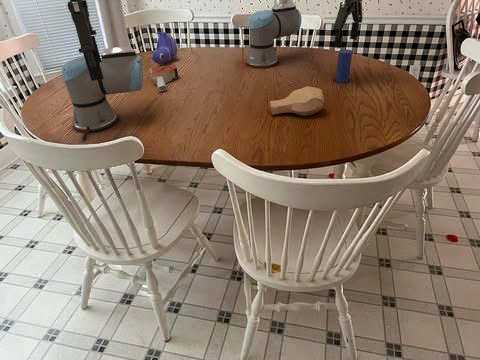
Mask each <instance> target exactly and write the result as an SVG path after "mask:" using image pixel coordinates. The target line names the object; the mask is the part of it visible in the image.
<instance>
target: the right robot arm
mask: <svg viewBox="0 0 480 360" xmlns="http://www.w3.org/2000/svg"><path fill="white" fill-rule="evenodd" d="M273 1H274V4H273V5H272V7H271V10H270V9H263V10H259V11H255V12H253V13H252V14H251V15H250V16H249V17H248V31H249V32H248V33H249V49H248V54H247V57H246V65H247V66H248V67H250V68H255V69H263V68H270V67H274V66H276V65H277V64H278V56H277V52H276V47H275V45H274V44H275V41H274V40H276V39H280V38H285V37H290V36H292V35H295V34H297V33H298V32H299V30H300V29H301V25H302V13H301V12H300V10H299V9H297V4H295V2H293V0H273ZM338 8H339V9H338V11H337V14H336V17H335V21H334V25H333V28H332V30H333V31H335V35H334V36H335V37H334V45H333V48H336V49H342V46H343V45H342V44H343V37H344V30H343V29H344V27H345V25H346V22H347V20H348V18H349V16H351V17H352V20H353V21H352V22H351V28H350V34H349V35H350V36H349V40H353V41H357V40H358V34H359V27H360V24H361V23H362V22H363V16H364V15H363V0H344V1H340V3H339V7H338Z"/></svg>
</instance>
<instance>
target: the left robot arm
mask: <svg viewBox="0 0 480 360" xmlns="http://www.w3.org/2000/svg"><path fill="white" fill-rule="evenodd" d="M122 3H123V2H122V0H93V4H94V7H95V12H96V17H97V20H98V26H99V30H100V35H101V41H102V44H103V50H102V52H101V54H100V51H99V48H98V44H97V40H96V37H95V36H96V35H97V34H98V33H97V31H96V29H94V28H93V26H92V24H91V19H90V12H89V5H88V2H87V0H69V1H67V4H66V5H67V8H68V11H69V13H70V16H71V20H72V22H73V24H74V27H75V30H76V35H77V38H78V41H79V45H80V48H78V53H79V54H83V56H79V57H76V58H73V59H71V60H69V61H67V62H65V63H64V64H63V65H62V66H61V68H60V72H61V75H62V78H63V79H62V81H63V82H64V84H65V87H66V90H67V93H68V96H69V99H70V101H71V104H72V108H73V114H72V117H73V118H72V119H73V125H74V128H75V129H76V131H78V132H84V133H83V136H82V138H81V139H82V140H83V141H85V140H86V138H87V135H88V133H92V132H99V131H102V130H105V129H107V128H110V127H111V126H113V125H115V124H116V122H117V121H118V116H117V113H116V111H115V110H114V108H113V107H112V105H111V103H110V102H109V101H108V99H107V96H108V95H117V94H125V93H132V92H138V91H141V90H142V88H143V86H144V69H143V68H144V67H143V60H142V57H141V56H140V55H137V51H136V50H135V49H134V48H132V47H131V43H130V39H129V33H128V29H127V23H126V19H125V14H124V8H123V4H122ZM93 29H94V30H93Z"/></svg>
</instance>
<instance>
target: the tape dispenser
mask: <svg viewBox="0 0 480 360" xmlns="http://www.w3.org/2000/svg"><path fill="white" fill-rule="evenodd" d="M165 68H166V69H165ZM163 69H164V70H163ZM148 71H149V75H150V77H151V80H152V81H153V83H154V84H155V86H157V88H156V89H157V92H159V93H160V92H165V91H167V89H168V86H167V83H170V82H172V80H177V79H178V78H179V72H178V67H177V64H169V65H161V67H159V66H156V67H149V69H148Z"/></svg>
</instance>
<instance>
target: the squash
mask: <svg viewBox="0 0 480 360" xmlns="http://www.w3.org/2000/svg"><path fill="white" fill-rule="evenodd" d="M324 102H325V96H324V92H323V90H322V89H321V88H319V87H313V86H309V85H306V86H304V87H301V88H298V89H294V90H293V91H291V92H290V93H289V95H288V96H287V97H285V98H282V99H277V100H270V101H269V103H268V106H269V109H270V113H271V114H272V115H273V116H274V115H277V114H278V115H279V114H283V113H291V114H292V113H293V114H296V115H299V116H303V117H306V116H313V115H315V114H317V113H318V112H320V111H321V110H322V109H323V105H324Z"/></svg>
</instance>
